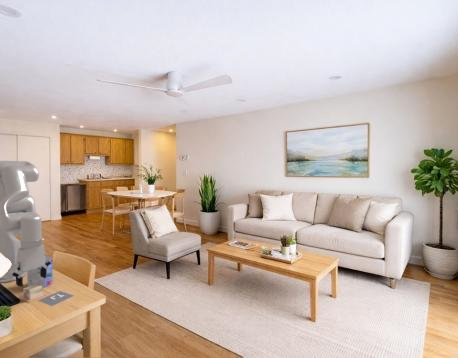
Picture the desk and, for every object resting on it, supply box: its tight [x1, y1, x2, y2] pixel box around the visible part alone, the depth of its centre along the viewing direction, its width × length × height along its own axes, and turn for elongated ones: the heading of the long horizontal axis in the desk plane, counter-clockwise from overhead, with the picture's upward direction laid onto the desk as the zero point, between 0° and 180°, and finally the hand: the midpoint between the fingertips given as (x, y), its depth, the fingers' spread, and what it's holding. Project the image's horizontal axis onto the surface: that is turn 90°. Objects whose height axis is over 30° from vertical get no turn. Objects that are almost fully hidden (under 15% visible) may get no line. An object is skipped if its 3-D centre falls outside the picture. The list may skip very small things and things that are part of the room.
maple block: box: [22, 284, 43, 300], centre depth 121 cm, size 5×5×4 cm
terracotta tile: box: [19, 292, 47, 303], centre depth 121 cm, size 7×7×1 cm
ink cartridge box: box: [26, 259, 54, 289], centre depth 133 cm, size 10×6×14 cm, turn 78°
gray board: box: [37, 290, 75, 307], centre depth 121 cm, size 10×10×1 cm
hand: (31, 281), depth 122 cm, fingers open, 9 cm apart
